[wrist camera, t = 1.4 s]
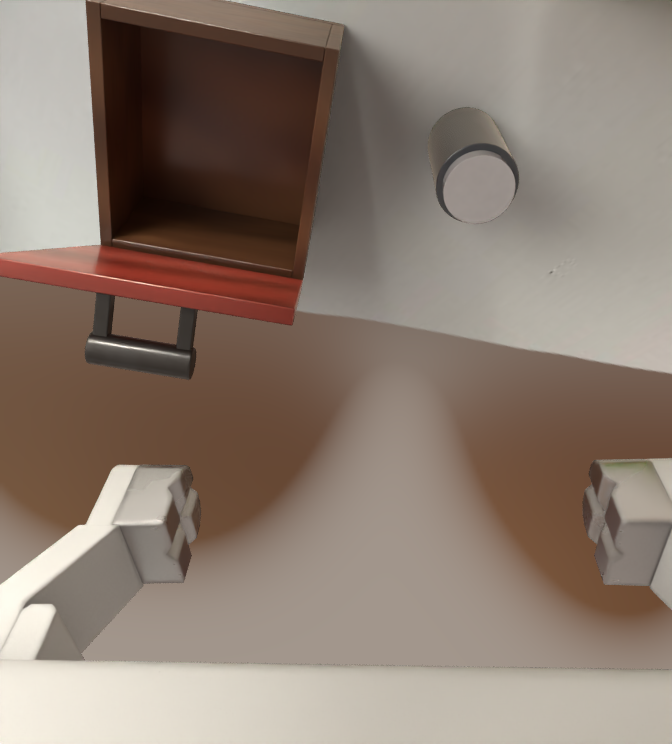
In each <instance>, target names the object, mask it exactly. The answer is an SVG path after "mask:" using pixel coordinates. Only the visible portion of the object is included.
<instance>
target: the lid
mask: <svg viewBox="0 0 672 744" xmlns="http://www.w3.org/2000/svg"><path fill="white" fill-rule="evenodd" d="M0 276H1V277H7V278H13V279H19V280H25V281H31V282H36V283H43V284H49V285H55V286H61V287H66V288H72V289H78V290H84V291H90V292H96V304H95V314H94V325H93V332H91V333H90V335H89V337H88V339H87V342H86V346H85V359H86V362H87V363H89V364H94V365H101V366H107V367H113V368H120V369H125V370H132V371H138V372H144V373H151V374H157V375H163V376H169V377H175V378H181V379H187V380H189V379H191V377H192V375H193V371H194V367H195V361H196V349H195V348H193V342H194V335H195V327H196V319H197V311H198V310H203V311H208V312H214V313H220V314H226V315H232V316H238V317H244V318H249V319H255V320H262V321H267V322H274V323H279V324H285V325H293V321H294V317H295V313H296V309H297V305H298V301H299V298H300V294H301V289H302V283H303V280H299V279H293V278H287V277H282V276H276V275H270V274H264V273H259V272H253V271H247V270H241V269H236V268H230V267H224V266H218V265H213V264H207V263H201V262H195V261H190V260H184V259H178V258H172V257H167V256H161V255H155V254H149V253H144V252H138V251H132V250H126V249H121V248H115V247H109V246H103V245H92V246H80V247H67V248H55V249H43V250H30V251H18V252H6V253H0ZM115 296H119V297H125V298H131V299H137V300H143V301H149V302H155V303H161V304H167V305H173V306H178V307H181V312H180V320H179V328H178V336H177V344H176V345H175V344H169V343H163V342H157V341H151V340H144V339H139V338H133V337H126V336H120V335H114V334H111V331H112V321H113V311H114V300H115Z"/></svg>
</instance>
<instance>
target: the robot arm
mask: <svg viewBox="0 0 672 744" xmlns="http://www.w3.org/2000/svg"><path fill="white" fill-rule="evenodd" d="M589 476H590V479H591V482H592V485H591V486H589V487H588V488H587V489H586V490H585V492H584V498H583V518H584V525H585V528H586V532H587V535H588V537H589V538H590V539H591V540H593V541H594V542H595V543H596V544H597V547H596V552H595V555H594V556H595V559H596V562H597V565H598V568H599V570H600V573H601V577H602V580H603V582H604V584H607V585H641V586H650V589H651V590H652V591H653V592H654V593H655V594H656V595H657V596H658V597H659V598H660V599H661V600H662V601H663V602H665V604H666V605H667V606H668V607H669V608H670V609H671V610H672V459H671V458H669V459H647V460H645V459H628V460H627V459H625V460H594V461H593V463H592V464H591V467H590V471H589ZM192 481H193V476H192V473H191V470H190V467H188V466H186V465H117V466H116V467H114V468H113V469H112V470H111V472H110V475H109V477H108V479H107V481H106V483H105V485H104V487H103V489H102V491H101V494H100V496H99V498H98V500H97V502H96V504H95V506H94V508H93V510H92V513H91V515H90V517H89V519H88V521H87V523H86V525H79V526H77V527H76V528H75V529H73V530H72V531H71V532H69V533H68V534H67V535H65V536H64V537H63V538H61V539H60V540H59V541H57V542H56V543H55V544H53V545H52V546H51V547H50V548H48V549H47V550H46V551H44V552H43V553H42V554H40V555H39V556H38V557H37V558H35V559H34V560H32V561H31V562H30V563H29V564H27V565H26V566H24V567H23V568H22V569H21V570H19V571H18V572H17V573H15V574H14V575H13V576H11V577H10V578H9V579H7V580H6V581H5V582H3V583H2V584H1V585H0V744H672V670H669V669H662V670H661V669H601V668H533V667H530V668H528V667H459V666H456V667H455V666H395V665H393V666H392V665H330V664H268V663H267V664H266V663H201V662H199V663H198V662H135V661H134V662H131V661H85V659H84V657H83V656H82V654H81V653H82V652H83V651H84V650H85V649H86V648H87V647H88V646H89V645H90V643H91V642H92V641H93V640H94V639H95V638H96V637H97V636H98V635H99V634H100V632H101V631H102V630H103V629H104V628H105V627H106V626H107V625H108V624H109V623H110V622H111V621H112V619H113V618H114V617H115V616H116V615H117V614H118V613H119V612H120V611H121V610H122V609H123V608H124V607H125V605H126V604H127V603H128V602H129V601H130V600H131V599H132V598H133V597H134V596H135V594H136V593H137V592H138V591H139V590H140V589H141V588H142V587H143V584H145V583H183V582H184V580H185V576H186V573H187V569H188V566H189V562H190V559H191V556H192V555H191V552H190V548H189V544H190V543H191V542H192V541H193V540H194V539H196V538H197V534H198V530H199V527H200V518H201V517H200V516H201V508H200V500H199V496H198V493H197V492H196V491H194V490H193V489H192V488H191V484H192Z"/></svg>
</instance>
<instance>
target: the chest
mask: <svg viewBox="0 0 672 744" xmlns="http://www.w3.org/2000/svg"><path fill="white" fill-rule="evenodd" d="M86 15H87V31H88V47H89V62H90V78H91V94H92V110H93V126H94V142H95V158H96V174H97V190H98V206H99V222H100V238H101V245H103V246H109V247H115V248H121V249H126V250H132V251H138V252H144V253H149V254H155V255H161V256H167V257H172V258H178V259H184V260H190V261H195V262H201V263H207V264H213V265H218V266H224V267H230V268H236V269H241V270H247V271H253V272H259V273H264V274H270V275H276V276H282V277H287V278H293V279H299V280H303V278H304V272H305V266H306V261H307V255H308V250H309V244H310V238H311V233H312V227H313V221H314V214H315V208H316V202H317V195H318V189H319V183H320V177H321V170H322V164H323V158H324V152H325V145H326V139H327V133H328V127H329V120H330V114H331V108H332V101H333V95H334V89H335V83H336V76H337V70H338V64H339V58H340V51H341V45H342V39H343V33H344V24H339V23H334V22H329V21H324V20H319V19H314V18H309V17H304V16H299V15H294V14H289V13H285V12H280V11H275V10H270V9H265V8H260V7H255V6H250V5H245V4H240V3H235V2H230V1H225V0H86Z"/></svg>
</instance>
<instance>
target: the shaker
mask: <svg viewBox="0 0 672 744" xmlns="http://www.w3.org/2000/svg"><path fill="white" fill-rule="evenodd" d="M427 149H428V156H429V161H430V165H431V170H432V175H433V180H434V185H435V190H436V195H437V199H438V202H439V204H440V205H441V207H442V208H443V210H444V211H445V212H446V213H447V214H448V215H450V216H451V217H453V218H454V219H456V220H459V221H462V222H466V223H471V224H480V223H485V222H488V221H491V220H493V219H495V218H497V217H498V216H500V215H501V214H502V213H503V212H504V211H505V210H506V209H507V208H508V206H509V205H510V203H511V202H512V200H513V199H514V197H515V195H516V192H517V189H518V184H519V172H518V168H517V165H516V163H515V161H514V159H513V157H512V155H511V153H510V151H509V149H508V147H507V145H506V143H505V141H504V139H503V137H502V135H501V133H500V131H499V129H498V127H497V126H496V124H495V122H494V120H493V119H492V118H491V117H490V116H489V115H488V114H487V113H485V112H483V111H481V110H479V109H476V108H470V107H464V108H458V109H455V110H452V111H450V112H448V113H447V114H445V115H444V116H442V117H441V118H440V119H439V120H438V121H437V122H436V124H435V125H434V127H433V128H432V130H431V132H430V135H429V138H428V146H427Z"/></svg>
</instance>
